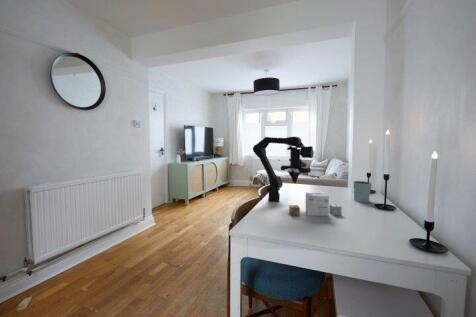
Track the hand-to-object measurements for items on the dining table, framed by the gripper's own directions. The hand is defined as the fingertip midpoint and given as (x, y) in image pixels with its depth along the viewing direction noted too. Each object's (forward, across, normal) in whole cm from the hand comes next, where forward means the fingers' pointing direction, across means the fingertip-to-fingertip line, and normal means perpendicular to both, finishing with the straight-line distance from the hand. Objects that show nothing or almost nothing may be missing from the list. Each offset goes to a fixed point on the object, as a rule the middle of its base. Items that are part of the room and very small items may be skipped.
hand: (294, 183), depth 131 cm
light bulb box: (+13, -19, +5) cm, 24 cm away
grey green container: (+13, -20, -41) cm, 48 cm away
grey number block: (+13, -24, -3) cm, 28 cm away
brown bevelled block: (+13, -13, +16) cm, 24 cm away
